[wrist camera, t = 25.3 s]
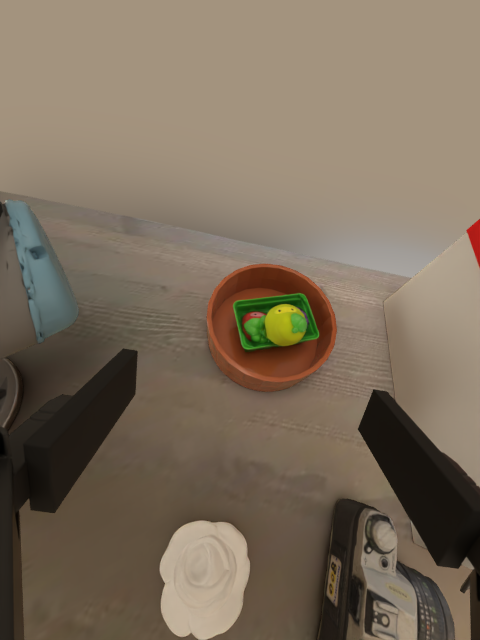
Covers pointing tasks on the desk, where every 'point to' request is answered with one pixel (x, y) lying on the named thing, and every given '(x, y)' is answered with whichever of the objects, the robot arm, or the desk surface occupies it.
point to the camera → (376, 584)
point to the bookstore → (441, 353)
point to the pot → (277, 362)
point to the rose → (204, 579)
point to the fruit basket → (274, 321)
